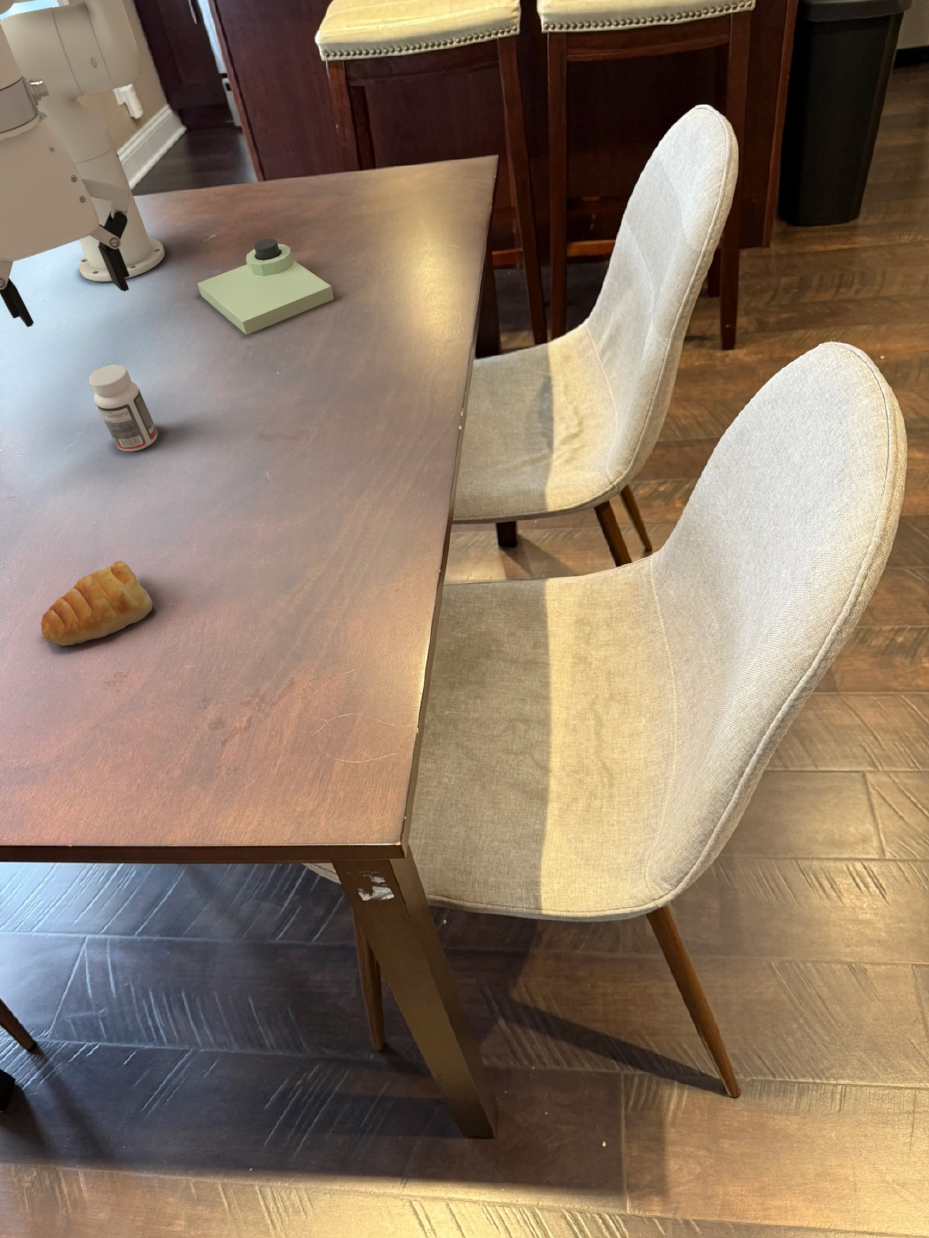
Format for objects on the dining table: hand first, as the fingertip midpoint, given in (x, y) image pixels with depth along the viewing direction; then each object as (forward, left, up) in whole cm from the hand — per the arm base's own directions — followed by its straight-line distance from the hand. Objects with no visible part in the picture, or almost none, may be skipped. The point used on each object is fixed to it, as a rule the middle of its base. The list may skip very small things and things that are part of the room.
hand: (75, 303), depth 85 cm
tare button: (-25, +29, -13) cm, 41 cm away
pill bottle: (0, 0, -16) cm, 16 cm away
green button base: (-20, +26, -16) cm, 37 cm away
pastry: (+25, -12, -16) cm, 32 cm away
